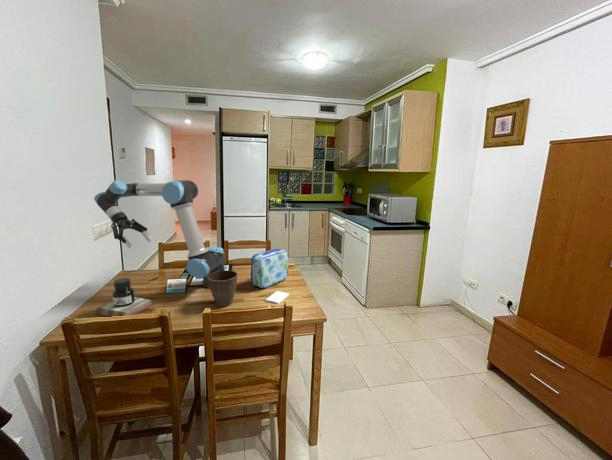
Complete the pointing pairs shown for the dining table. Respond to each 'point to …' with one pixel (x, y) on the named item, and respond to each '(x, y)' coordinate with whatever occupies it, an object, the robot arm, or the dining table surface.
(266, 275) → the lunch box
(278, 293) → the external hard drive
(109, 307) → the mat platform
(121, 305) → the ink bottle
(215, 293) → the plant pot
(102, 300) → the dining table surface
